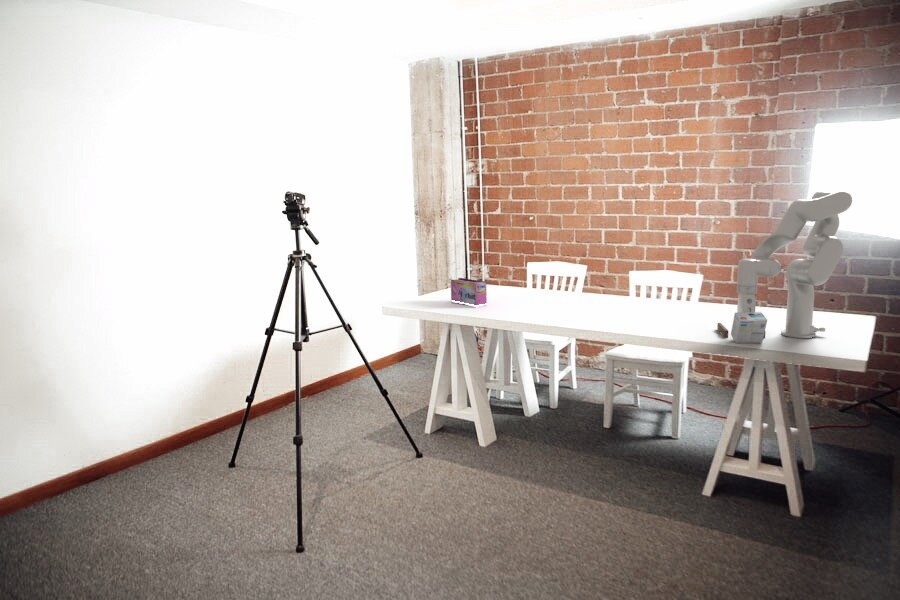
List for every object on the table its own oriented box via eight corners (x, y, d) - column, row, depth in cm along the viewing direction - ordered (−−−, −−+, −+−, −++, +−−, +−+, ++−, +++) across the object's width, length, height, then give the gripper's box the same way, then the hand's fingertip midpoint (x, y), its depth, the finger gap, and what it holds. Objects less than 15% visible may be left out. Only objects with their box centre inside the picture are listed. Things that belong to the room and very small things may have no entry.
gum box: (449, 302, 365) (448, 279, 363) (460, 300, 370) (459, 277, 367) (476, 308, 346) (475, 283, 344) (487, 305, 351) (486, 281, 349)
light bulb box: (756, 333, 260) (761, 311, 255) (763, 343, 255) (768, 319, 249) (729, 334, 261) (734, 311, 256) (735, 343, 255) (740, 320, 250)
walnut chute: (755, 329, 276) (755, 323, 275) (765, 338, 262) (765, 331, 261) (717, 329, 279) (717, 322, 278) (725, 337, 265) (725, 330, 264)
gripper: (761, 292, 251) (758, 338, 254) (751, 286, 265) (749, 329, 268) (741, 292, 252) (738, 337, 255) (732, 286, 267) (729, 329, 270)
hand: (743, 333), depth 262 cm, fingers closed
